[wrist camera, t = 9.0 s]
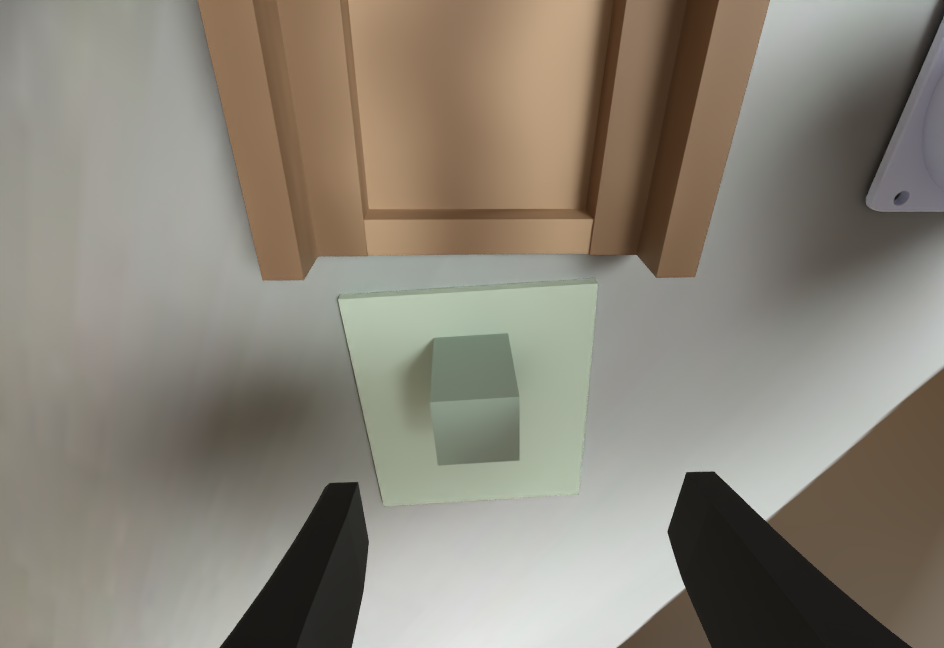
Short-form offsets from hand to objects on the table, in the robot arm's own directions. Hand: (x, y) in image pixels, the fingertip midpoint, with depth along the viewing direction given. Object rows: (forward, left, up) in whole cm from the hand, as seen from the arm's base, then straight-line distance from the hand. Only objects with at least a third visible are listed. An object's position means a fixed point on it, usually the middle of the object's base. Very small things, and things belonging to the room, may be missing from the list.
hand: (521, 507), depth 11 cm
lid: (+1, +5, -10) cm, 12 cm away
